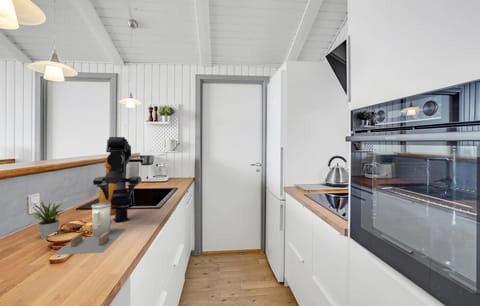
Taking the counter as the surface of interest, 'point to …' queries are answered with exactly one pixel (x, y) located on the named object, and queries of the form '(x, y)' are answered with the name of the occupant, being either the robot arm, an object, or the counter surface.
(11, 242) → the counter surface
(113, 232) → the holder
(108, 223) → the white mug
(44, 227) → the house plant
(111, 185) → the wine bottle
